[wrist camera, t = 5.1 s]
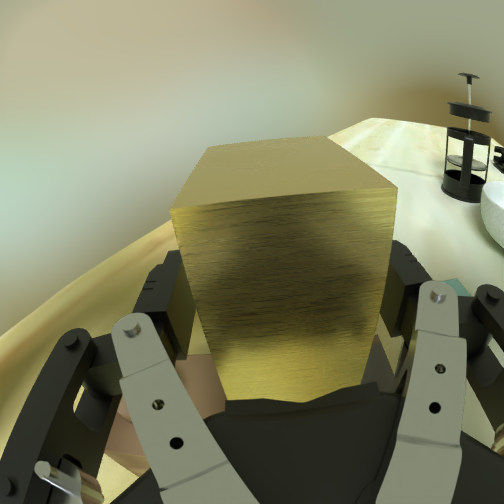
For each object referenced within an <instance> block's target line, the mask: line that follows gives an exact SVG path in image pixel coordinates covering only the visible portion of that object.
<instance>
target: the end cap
mask: <svg viewBox="0 0 504 504" xmlns="http://www.w3.org/2000/svg"><path fill="white" fill-rule="evenodd" d="M494 152H498V153H501V154H502V156H501V157H498V156H494V159H493V160H494V162H495V163H496V164H495V163H494V164H493V165H494V166H495V167H496V168H497V169H498V170H499V171H500V172H501V173H503V174H504V148H502V147H498V146H495V149H494Z"/></svg>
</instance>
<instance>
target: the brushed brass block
mask: <svg viewBox="0 0 504 504" xmlns="http://www.w3.org/2000/svg"><path fill="white" fill-rule="evenodd" d="M397 191H398V187H396V186H395V185H394V184H392V183H391V182H390V181H388V180H387V179H386V178H385V177H383V176H382V175H381V174H379V173H378V172H377V171H375V170H374V169H372V168H371V167H370V166H368V165H367V164H365V163H364V162H363V161H361V160H360V159H358V158H357V157H356V156H354V155H353V154H351V153H350V152H348V151H347V150H345V149H344V148H342V147H341V146H339V145H338V144H336V143H335V142H333V141H332V140H330V139H329V138H327V137H325V136H314V137H313V136H312V137H296V138H282V139H272V140H261V141H251V142H242V143H234V144H227V145H219V146H212V147H208V148H207V150H206V151H205V153H204V155H203V156H202V157H201V159H200V160H199V162H198V164H197V165H196V167H195V168H194V170H193V171H192V173H191V175H190V176H189V178H188V180H187V181H186V183H185V184H184V186H183V188H182V189H181V191H180V192H179V194H178V196H177V197H176V199H175V201H174V202H173V204H172V206H171V208H170V209H169V210H170V214H171V218H172V222H173V226H174V230H175V234H176V238H177V242H178V246H179V249H180V253H181V257H182V260H183V264H184V268H185V271H186V275H187V278H188V282H189V285H190V289H191V292H192V295H193V299H194V302H195V305H196V308H197V312H198V315H199V318H200V321H201V324H202V328H203V331H204V334H205V337H206V340H207V343H208V346H209V349H210V352H211V355H212V358H213V361H214V364H215V366H216V369H217V372H218V375H219V378H220V381H221V383H222V386H223V389H224V392H225V394H226V397H227V400H243V399H258V398H266V399H274V400H282V401H291V402H307V401H310V400H313V399H316V398H318V397H321V396H323V395H326V394H328V393H331V392H333V391H336V390H338V389H341V388H345V387H351V386H356V385H360V383H361V380H362V377H363V373H364V370H365V367H366V363H367V360H368V356H369V352H370V349H371V345H372V341H373V337H374V333H375V329H376V325H377V321H378V316H379V312H380V307H381V302H382V298H383V293H384V287H385V282H386V277H387V271H388V265H389V259H390V252H391V246H392V238H393V231H394V222H395V213H396V203H397Z"/></svg>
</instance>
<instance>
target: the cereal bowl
mask: <svg viewBox="0 0 504 504" xmlns="http://www.w3.org/2000/svg"><path fill="white" fill-rule="evenodd" d="M480 206H481V215H482V219H483V222H484V224H485V227H486V229H487V230H488V232H489V233H490V235H491V236H492V237H493V239H494V240H495V241H496V242H497V243H498V244H499V245H500V246H501V247H502V248H503V249H504V181H491V182H487V183H486V184H484V186H483V188H482V194H481V204H480Z"/></svg>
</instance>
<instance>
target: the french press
mask: <svg viewBox="0 0 504 504" xmlns="http://www.w3.org/2000/svg"><path fill="white" fill-rule="evenodd" d="M459 75H461V76H465V77H467V84H469V104H465V103H460V102H455V103H450V102H447V103H448V104H450V114H452V115H455V116H459V117H464V118H468V119H469V127H468V130H467V129H462V128H455V127H447V142H446V157H445V169H444V179H443V184H442V187H441V189H442V191H443V192H444V193H446V194H447V195H449V196H451V197H453V198H455V199H458V200H461V201H465V202H470V203H481V194H482V188H483V186H484V184H486V179H487V171H488V163H489V154H490V142H491V137H489V136H487V135H484V134H481V133H478V132H475V131H471V130H470V121H471V119H472V120H477V121H482V122H487V123H489V120H490V113H492V112H491V111H487V110H486V109H484V108H482V107H478V106H474V105H471V90H470V85H472V78H476V79H479V77H477V76H475V75H472V74H467V73H459ZM448 136H450V137H452V138H455V139H459V140H462V141H464V147H463V156H457V155H449V156H447V152H448ZM474 144H479V145H487V146H489V147H488V158H487V166H486V165H485V164H483V163H482V162H480V161H477V160H474V159H473V147H474ZM447 158H448V159H447ZM447 160H448V162H450V163H452V164H454V165H456V166H459V167H462V169H461V171H460V170H446V164H447ZM471 170H474V171H485V170H486V175H485V180H483V179H482V178H481V177H479V176H477V175H474V174H472V173H471Z"/></svg>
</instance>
